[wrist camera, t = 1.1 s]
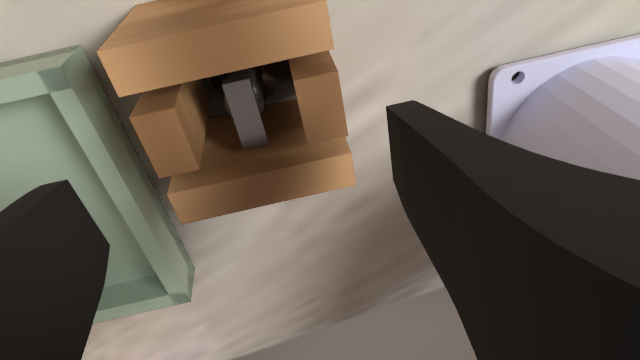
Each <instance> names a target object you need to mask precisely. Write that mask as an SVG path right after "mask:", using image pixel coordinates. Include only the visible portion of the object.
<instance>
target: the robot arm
mask: <svg viewBox="0 0 640 360" xmlns="http://www.w3.org/2000/svg"><path fill="white" fill-rule="evenodd" d="M518 71H520V73H519V76H518V77H517V78H516V79H514V80H511V79H512V76H513V75H514V74H515V73H516V72H518ZM386 111H387V121H388V132H389V142H390V152H391V162H392V172H393V181H394V183H395V186H396V189H397V191H398V194H399V197H400V200H401V202H402V205H403V207H404V210H405V212H406V215H407V217H408V219H409V221H410V222H411V224H412V226H413V228H414V230H415V232H416V234H417V235H418V237H419V239H420V241H421V243H422V245H423V247H424V248H425V250H426V252H427V254H428V256H429V258H430V259H431V261H432V263H433V265H434V267H435V269H436V270H437V272H438V274H439V276H440V278H441V279H442V281H443V283H444V285H445V287H446V288H447V290H448V292H449V295H450V296H451V299H452V301H453V303H454V305H455V307H456V309H457V311H458V314H459V316H460V318H461V321H462V323H463V326H464V328H465V330H466V333H467V335H468V338H469V340H470V343H471V345H472V347H473V350H474V352H475V355H476V357H477V360H640V34H638V35H633V36H629V37H624V38H620V39H616V40H611V41H607V42H602V43H598V44H593V45H589V46H585V47H580V48H576V49H571V50H567V51H563V52H558V53H554V54H549V55H545V56H540V57H536V58H532V59H527V60H523V61H518V62H514V63H509V64H505V65H501V66H499V67H497V68H496V69H494V70H493V71H492V73H491V74H490V77H489V83H488V101H487V120H486V134H485V133H483V132H480V131H478V130H476V129H474V128H471V127H469V126H467V125H465V124H463V123H461V122H459V121H456V120H454V119H452V118H450V117H448V116H446V115H444V114H442V113H440V112H438V111H436V110H434V109H432V108H430V107H428V106H425V105H423V104H421V103H419V102H416V101H414V100H412V101H407V102H403V103H399V104H394V105H390V106H386ZM109 250H110V244H109V243H108V241H107V239H106V238H105V236H104V235H103V233H102V232H101V230H100V229H99V227H98V226H97V224H96V223H95V221H94V220H93V218H92V216H91V215H90V213H89V212H88V210H87V209H86V207H85V206H84V204H83V203H82V201H81V200H80V198H79V196H78V195H77V193H76V192H75V190H74V189H73V187H72V186H71V184H70V183H69V181H68V180H67V179H66V180H62V181H57V182H53V183H49V184H44V185H40V186H38V187H37V188H35V189H33V190H31V191H30V192H28V193H26V194H25V195H23V196H22V197H20V198H19V199H17V200H16V201H14V202H13V203H12V204H10V205H9V206H7V207H6V208H5V209H3V210H2V211H1V212H0V360H81V358H82V355H83V352H84V349H85V346H86V343H87V339H88V336H89V333H90V330H91V327H92V324H93V321H94V318H95V314H96V311H97V308H98V305H99V301H100V298H101V295H102V291H103V288H104V284H105V278H106V272H107V267H108V258H109Z"/></svg>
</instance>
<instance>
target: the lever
mask: <svg viewBox="0 0 640 360" xmlns="http://www.w3.org/2000/svg"><path fill="white" fill-rule="evenodd" d="M210 78H211V81H212V84H213V86H214V88H215V89H216V90H217V92H218V93H219V94H220V95H221V96H222V97H224V98H225V99H224V106H225V109H226V111H227V113H228V114H229V115H230V116H231V117H232V118H233V120H234V123H235V126H236V129H237V132H238V135H239V138H240V141H241V144H242V147H243V149H248V148H252V147H257V146H261V145H266V144H268V136H267V133H266V129H265V126H264V122H263V119H262V116H261V114H262V112H263V110H264V100H265V99H266V98H268V97H269V96H270V95H271V94H272V93H273V91H274V90H275V88H276V86H277V84H278V80H279V66H278V62H274V63H269V64H265V65H260V66H256V67H252V68H247V69H243V70H238V71H234V72H229V73H225V74H221V75H216V76H212V77H210Z"/></svg>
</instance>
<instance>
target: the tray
mask: <svg viewBox="0 0 640 360" xmlns="http://www.w3.org/2000/svg"><path fill="white" fill-rule="evenodd" d="M66 179H67V180H68V181H69V183H70V184H71V186H72V187H73V189H74V190H75V192H76V193H77V195H78V196H79V198H80V200H81V201H82V203H83V204H84V206H85V207H86V209H87V210H88V212H89V213H90V215H91V216H92V218H93V220H94V221H95V223H96V224H97V226H98V227H99V229H100V230H101V232H102V233H103V235H104V236H105V238H106V239H107V241H108V243H109V244H110V250H109V258H108V267H107V272H106V278H105V284H104V288H103V291H102V295H101V298H100V301H99V305H98V308H97V311H96V314H95V318H94V321H93V324H94V323H99V322H103V321H107V320H112V319H116V318H121V317H125V316H129V315H134V314H138V313H142V312H147V311H151V310H156V309H160V308H164V307H169V306H173V305H177V304H182V303H186V302H191V294H192V287H193V279H194V272H195V267H194V265H193V263H192V262H191V260H190V258H189V256H188V254H187V252H186V250H185V248H184V246H183V244H182V242H181V240H180V238H179V236H178V234H177V232H176V230H175V228H174V226H173V224H172V222H171V220H170V218H169V216H168V214H167V212H166V211H165V209H164V207H163V205H162V203H161V201H160V199H159V197H158V195H157V193H156V191H155V189H154V187H153V185H152V183H151V181H150V179H149V177H148V175H147V173H146V171H145V169H144V167H143V165H142V163H141V162H140V160H139V158H138V156H137V154H136V152H135V150H134V148H133V146H132V144H131V142H130V140H129V138H128V136H127V134H126V132H125V130H124V128H123V126H122V124H121V122H120V120H119V118H118V116H117V114H116V112H115V111H114V109H113V107H112V105H111V103H110V101H109V99H108V97H107V95H106V93H105V91H104V89H103V87H102V85H101V83H100V81H99V79H98V77H97V75H96V73H95V71H94V69H93V67H92V65H91V63H90V62H89V60H88V58H87V56H86V54H85V52H84V50H83V48H82V46H81V45H77V46H73V47H68V48H64V49H59V50H55V51H51V52H46V53H42V54H37V55H33V56H28V57H24V58H19V59H15V60H10V61H6V62H2V63H0V212H1V211H2V210H3V209H5V208H6V207H7V206H9V205H10V204H12V203H13V202H14V201H16V200H17V199H19V198H20V197H22V196H23V195H25V194H26V193H28V192H30V191H31V190H33V189H35V188H37V187H38V186H40V185H44V184H49V183H53V182H57V181H62V180H66Z"/></svg>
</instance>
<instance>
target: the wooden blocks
mask: <svg viewBox="0 0 640 360" xmlns="http://www.w3.org/2000/svg"><path fill="white" fill-rule="evenodd" d="M331 49H334V45H333V39H332V33H331V27H330V20H329V14H328V8H327V2H326V0H157V1H153V2H148V3H144V4H139V5H136V6H135V7H134V8H133V9H132V10H131V11H130V13H129V14H128V15H127V16H126V17H125V19H124V20H123V21H122V22H121V23H120V24H119V26H118V27H117V28H116V29H115V30H114V32H113V33H112V34H111V35H110V36H109V37H108V39H107V40H106V41H105V42H104V43H103V45H102V46H101V47H100V48H99V49H98V51H97V54H98V56H99V58H100V60H101V62H102V64H103V66H104V68H105V70H106V72H107V74H108V76H109V78H110V80H111V83H112V85H113V87H114V89H115V91H116V93H117V95H118V97H123V96H127V95H132V94H136V93H141V94H140V97H139V99H138V101H137V103H136V105H135V107H134V109H133V111H132V113H131V115H130V117H129V119H130V121H131V123H132V125H133V127H134V129H135V131H136V133H137V135H138V137H139V139H140V141H141V143H142V145H143V147H144V149H145V151H146V153H147V155H148V157H149V159H150V162H151V164H152V166H153V168H154V170H155V172H156V174H157V176H158V178H159V179H160V178H165V177H169V176H172V177H171V181H170V185H169V189H168V193H167V196H168V198H169V200H170V202H171V204H172V206H173V208H174V210H175V212H176V214H177V216H178V218H179V220H180V222H181V224H186V223H190V222H195V221H199V220H203V219H208V218H212V217H216V216H221V215H225V214H230V213H234V212H238V211H243V210H247V209H252V208H256V207H260V206H265V205H269V204H274V203H278V202H282V201H287V200H291V199H296V198H300V197H304V196H309V195H313V194H318V193H322V192H326V191H331V190H335V189H340V188H344V187H348V186H353V185H356V180H355V174H354V168H353V162H352V156H351V151H350V149H349V146H348V143H347V141H346V138H345V136H348V131H347V125H346V119H345V113H344V106H343V100H342V94H341V88H340V82H339V76H338V71H337V68H336V66H335V64H334V62H333V60H332V57H331V55H330V53H329V51H328V50H331ZM287 59H288V60H289V65H290V69H291V74H292V78H293V83H294V87H295V91H296V96H297V99H293V100H289V101H285V102H280V103H276V104H271V105H267V106H264V110H263V112H262V114H261V116H262V119H263V122H264V126H265V129H266V133H267V136H268V144H266V145H261V146H257V147H252V148H248V149H243V147H242V144H241V141H240V138H239V135H238V132H237V129H236V126H235V123H234V120H233V118H232V117H231V116H230V115H229V114H227V115H223V116H218V117H214V118H209V119H208V115H209V108H210V101H209V98H208V95H207V92H206V89H205V87H204V84H203V81H202V79H203V78H207V77H212V76H216V75H221V74H225V73H229V72H234V71H238V70H243V69H247V68H252V67H256V66H260V65H265V64H269V63H274V62H278V61H283V60H287Z"/></svg>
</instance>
